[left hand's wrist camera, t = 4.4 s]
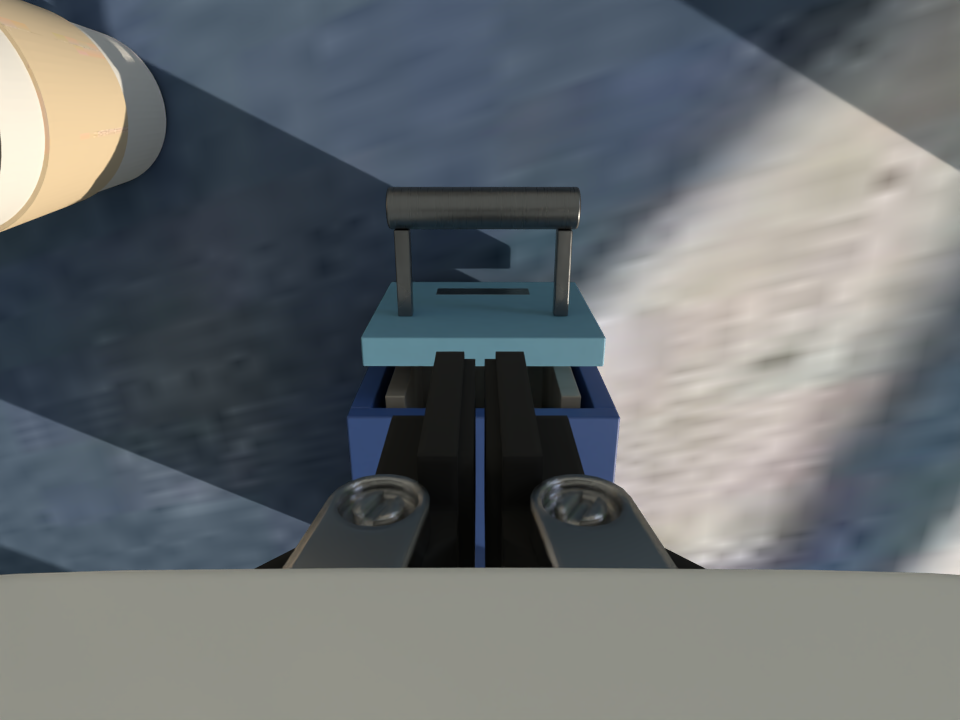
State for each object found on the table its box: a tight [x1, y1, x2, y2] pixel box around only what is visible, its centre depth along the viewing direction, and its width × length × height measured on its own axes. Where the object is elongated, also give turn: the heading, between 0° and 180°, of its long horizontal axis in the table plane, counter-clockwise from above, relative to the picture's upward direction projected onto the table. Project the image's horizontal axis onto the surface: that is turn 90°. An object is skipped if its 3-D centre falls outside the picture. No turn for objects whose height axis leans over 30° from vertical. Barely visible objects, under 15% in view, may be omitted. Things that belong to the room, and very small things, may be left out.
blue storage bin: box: [346, 366, 620, 568], centre depth 31 cm, size 15×10×10 cm
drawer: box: [361, 187, 606, 408], centre depth 29 cm, size 19×9×8 cm, turn 0°
